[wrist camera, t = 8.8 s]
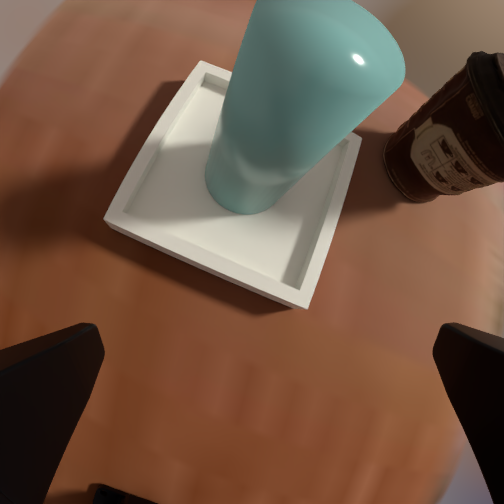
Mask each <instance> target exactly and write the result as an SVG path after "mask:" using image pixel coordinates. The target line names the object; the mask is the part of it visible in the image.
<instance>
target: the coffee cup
mask: <svg viewBox="0 0 504 504" xmlns="http://www.w3.org/2000/svg"><path fill="white" fill-rule="evenodd" d="M383 158H384V162H385V166H386V169H387V172H388V174H389V176H390V178H391V180H392V181H393V183H394V184H395V185H396V187H397V188H398V189H399V190H400V191H401V192H402V193H403V194H404V195H405V196H406V197H408V198H410V199H412V200H414V201H417V202H429V201H433V200H434V199H436V198H437V197H438V196H439V195H460V194H462V193H464V192H467V191H470V190H473V189H475V188H482V187H484V186H489V185H492V184H494V183H497V182H504V54H503V53H494V54H487V53H485V52H483V51H480V52H473V53H472V54H471V56H470V57H469V58H468V59H467V63H466V65H465V66H464V67H463V68H462V69H461V70H460V71H459V72H458V73H457V74H455V75H454V76H453V77H452V78H451V79H450V80H449V81H448V82H446V84H445V85H444V86H443V87H442V88H441V89H439V90H438V91H437V92H436V93H435V94H434V95H433V96H432V97H431V98H430V99H429V100H428V101H427V102H426V103H424V104H423V105H422V106H421V107H420V108H419V110H418V111H417V112H415V113H414V114H413V115H412V116H411V117H410V119H409V120H407V121H406V122H404V123H403V124H402V125H401V126H400V127H399V128H398V130H397V132H395V133H394V134H393V135H392V136H391V137H390V138H389V140H388V141H387V143H386V145H385V148H384V152H383Z"/></svg>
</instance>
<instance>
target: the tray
mask: <svg viewBox="0 0 504 504" xmlns="http://www.w3.org/2000/svg"><path fill="white" fill-rule="evenodd" d="M231 75H232V72H229V71H227V70H224V69H222V68H219V67H217V66H214V65H212V64H209V63H206V62H204V61H201V60H200V62H199V63H198V64H197V66H196V67H195V68H194V70H193V71H192V72H191V74H190V75H189V77H188V78H187V79H186V81H185V82H184V84H183V85H182V86H181V88H180V89H179V91H178V92H177V94H176V95H175V97H174V98H173V99H172V101H171V102H170V104H169V105H168V107H167V108H166V110H165V112H164V113H163V115H162V116H161V118H160V119H159V121H158V122H157V124H156V126H155V127H154V129H153V130H152V132H151V134H150V135H149V137H148V138H147V140H146V142H145V143H144V145H143V147H142V148H141V150H140V152H139V153H138V155H137V157H136V159H135V160H134V162H133V164H132V166H131V167H130V169H129V171H128V173H127V175H126V176H125V178H124V180H123V182H122V184H121V185H120V187H119V189H118V191H117V193H116V195H115V197H114V199H113V201H112V203H111V205H110V207H109V208H108V210H107V212H106V214H105V216H104V219H103V220H104V221H105V222H106V223H107V224H108V225H109V226H110V228H112V229H114V230H116V231H118V232H120V233H122V234H124V235H127V236H129V237H131V238H133V239H135V240H137V241H139V242H142V243H144V244H146V245H148V246H150V247H153V248H155V249H157V250H159V251H161V252H164V253H166V254H168V255H170V256H172V257H175V258H177V259H179V260H181V261H184V262H186V263H188V264H190V265H193V266H195V267H197V268H199V269H202V270H204V271H206V272H208V273H211V274H213V275H215V276H218V277H220V278H222V279H224V280H227V281H229V282H231V283H234V284H236V285H238V286H241V287H243V288H245V289H248V290H250V291H252V292H255V293H257V294H260V295H262V296H264V297H267V298H269V299H271V300H274V301H276V302H279V303H281V304H283V305H286V306H288V307H291V308H293V309H308V306H309V304H310V301H311V298H312V295H313V293H314V290H315V287H316V284H317V282H318V279H319V276H320V273H321V270H322V267H323V264H324V261H325V259H326V256H327V253H328V250H329V247H330V244H331V241H332V238H333V235H334V231H335V228H336V225H337V222H338V219H339V216H340V213H341V210H342V206H343V203H344V200H345V197H346V193H347V190H348V187H349V183H350V180H351V176H352V173H353V170H354V166H355V163H356V159H357V156H358V152H359V148H360V145H361V141H362V138H361V137H360V136H358V135H356V134H355V133H353V132H350V133H349V134H348V135H347V136H346V137H345V138H344V139H343V140H342V141H340V142H339V143H338V144H337V145H336V146H335V147H334V148H333V149H332V150H331V151H330V152H329V153H328V154H327V155H326V156H324V157H323V158H322V159H321V160H320V161H319V162H318V163H317V164H316V165H315V166H314V167H313V168H312V169H311V170H310V171H309V172H307V173H306V174H305V175H304V176H303V177H302V178H301V179H300V180H299V181H298V182H297V183H296V184H295V185H294V186H293V187H292V188H291V189H290V190H288V191H287V192H286V193H285V194H284V195H283V196H282V197H281V198H280V199H279V200H278V201H277V202H276V203H275V204H274V205H273V206H272V207H270V208H269V209H267V210H265V211H263V212H261V213H257V214H252V215H243V214H237V213H234V212H231V211H229V210H227V209H225V208H223V207H222V206H221V205H219V204H218V203H217V202H216V201H215V200H214V199H213V197H212V196H211V194H210V193H209V191H208V189H207V186H206V182H205V166H206V163H207V159H208V155H209V151H210V148H211V144H212V140H213V137H214V133H215V129H216V126H217V122H218V119H219V115H220V112H221V108H222V105H223V101H224V98H225V95H226V91H227V88H228V85H229V81H230V78H231Z"/></svg>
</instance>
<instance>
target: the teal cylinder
mask: <svg viewBox="0 0 504 504" xmlns="http://www.w3.org/2000/svg"><path fill="white" fill-rule="evenodd" d="M404 77H405V62H404V59H403V55H402V53H401V50H400V48H399V46H398V44H397V43H396V41H395V39H394V38H393V36H392V35H391V34H390V32H389V31H388V30H387V29H386V28H385V27H384V25H383V24H382V23H381V22H380V21H379V20H377V19H376V18H375V17H374V16H373V15H372V14H371V13H369V12H368V11H367V10H365V9H364V8H362V7H361V6H360V5H358V4H356V3H355V2H353V1H351V0H257V1H256V3H255V6H254V9H253V11H252V14H251V17H250V20H249V23H248V26H247V29H246V32H245V35H244V38H243V41H242V44H241V47H240V50H239V53H238V56H237V59H236V62H235V65H234V69H233V72H232V75H231V78H230V81H229V85H228V88H227V91H226V95H225V98H224V101H223V105H222V108H221V112H220V115H219V119H218V122H217V126H216V129H215V133H214V137H213V140H212V144H211V148H210V151H209V155H208V159H207V163H206V166H205V182H206V186H207V189H208V191H209V193H210V194H211V196H212V197H213V199H214V200H215V201H216V202H217V203H218V204H219V205H221V206H222V207H223V208H225V209H227V210H229V211H231V212H234V213H237V214H243V215H252V214H257V213H261V212H263V211H265V210H267V209H269V208H270V207H272V206H273V205H274V204H275V203H276V202H277V201H278V200H279V199H280V198H281V197H282V196H283V195H284V194H285V193H286V192H287V191H288V190H290V189H291V188H292V187H293V186H294V185H295V184H296V183H297V182H298V181H299V180H300V179H301V178H302V177H303V176H304V175H305V174H306V173H307V172H309V171H310V170H311V169H312V168H313V167H314V166H315V165H316V164H317V163H318V162H319V161H320V160H321V159H322V158H323V157H324V156H326V155H327V154H328V153H329V152H330V151H331V150H332V149H333V148H334V147H335V146H336V145H337V144H338V143H339V142H340V141H342V140H343V139H344V138H345V137H346V136H347V135H348V134H349V133H350V132H351V131H352V130H353V129H354V128H356V127H357V126H358V125H359V124H360V123H361V122H362V121H363V120H364V119H365V118H366V117H367V116H369V115H370V114H371V113H372V112H373V111H374V110H375V109H376V108H377V107H378V106H379V105H381V104H382V103H383V102H384V101H385V100H386V99H387V98H388V97H389V96H390V95H391V94H393V93H394V92H395V91H396V90H397V89H398V88H399V87H400V86H401V84H402V82H403V80H404Z"/></svg>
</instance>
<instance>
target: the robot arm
mask: <svg viewBox="0 0 504 504" xmlns="http://www.w3.org/2000/svg"><path fill="white" fill-rule="evenodd" d="M104 355H105V351H104V346H103V343H102V340H101V337H100V334H99V331H98V328H97V326H96V325H95V324H92V323H79V324H76V325H73V326H70V327H67V328H64V329H62V330H59V331H56V332H53V333H50V334H47V335H44V336H41V337H38V338H35V339H32V340H29V341H26V342H23V343H20V344H17V345H14V346H11V347H8V348H5V349H2V350H0V504H43V502H44V499H45V497H46V494H47V492H48V489H49V487H50V484H51V482H52V480H53V477H54V475H55V472H56V470H57V468H58V465H59V463H60V461H61V459H62V456H63V454H64V452H65V449H66V447H67V445H68V443H69V441H70V438H71V436H72V434H73V432H74V430H75V428H76V425H77V423H78V421H79V419H80V417H81V415H82V413H83V411H84V409H85V407H86V404H87V402H88V400H89V398H90V395H91V393H92V390H93V387H94V384H95V381H96V379H97V376H98V373H99V370H100V367H101V365H102V362H103V359H104ZM433 358H434V361H435V363H436V366H437V369H438V371H439V374H440V376H441V379H442V382H443V385H444V387H445V390H446V393H447V395H448V397H449V400H450V402H451V404H452V406H453V408H454V410H455V412H456V414H457V416H458V419H459V421H460V423H461V425H462V427H463V429H464V432H465V434H466V436H467V438H468V441H469V443H470V445H471V447H472V450H473V452H474V454H475V457H476V459H477V461H478V464H479V466H480V469H481V471H482V474H483V477H484V479H485V482H486V484H487V487H488V489H489V492H490V495H491V498H492V501H493V503H494V504H504V338H501V337H498V336H495V335H492V334H489V333H486V332H483V331H480V330H477V329H474V328H471V327H468V326H465V325H462V324H459V323H454V322H453V323H445V324H443V325H442V326H441V328H440V330H439V333H438V336H437V338H436V341H435V344H434V346H433ZM102 490H103V491H106V492H107V493H103V492H102ZM93 504H158V503H154V502H151V501H148V500H145V499H142V498H139V497H136V496H134V495H131V494H127V493H124V492H122V491H119V490H116V489H114V488H111V487H109V486H106V485H99V486H98V487H97V490H96V493H95V497H94V500H93Z"/></svg>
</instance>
